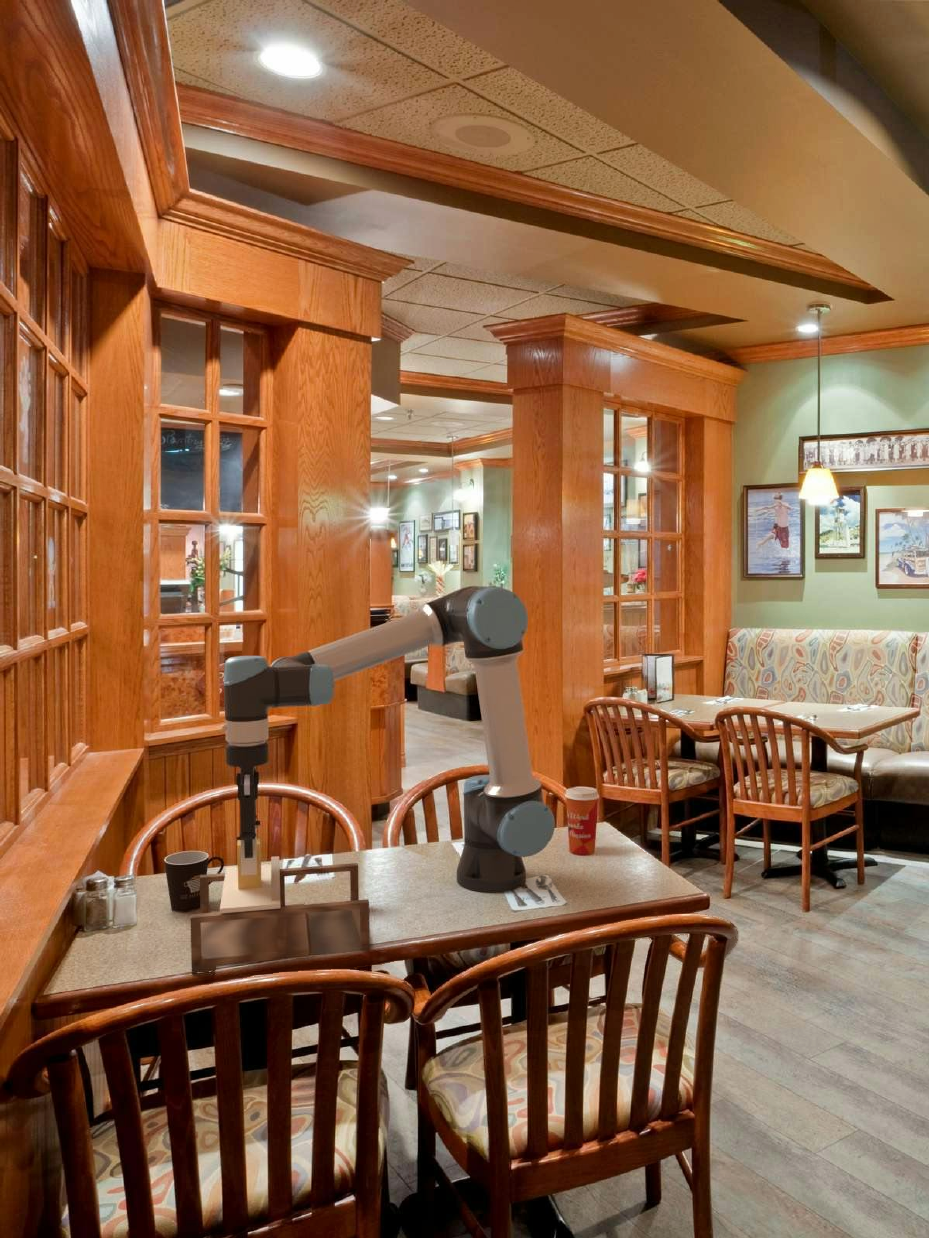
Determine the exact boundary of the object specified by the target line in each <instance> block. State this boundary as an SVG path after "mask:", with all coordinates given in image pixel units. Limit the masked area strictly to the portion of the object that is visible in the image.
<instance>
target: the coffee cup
mask: <svg viewBox="0 0 929 1238" xmlns="http://www.w3.org/2000/svg"><path fill="white" fill-rule="evenodd" d="M564 796H565V800H566V815H567V817H566V818H567V819H566V820H567V831H568V832H567V834H568V835H567V837H568V847H569V848H568V849H569V852H570V854H572V855H575V856H582V857H585V856H591V855H594V854H595V850H596V839H597V837H596V836H597V821H598V819H597V818H598V807H599V806H598V803H599V799H600V794H599V793H598V789H597V788H595V787H589V786H574V787H569V788H567V789H566V793H564Z"/></svg>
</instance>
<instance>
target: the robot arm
mask: <svg viewBox="0 0 929 1238" xmlns="http://www.w3.org/2000/svg"><path fill="white" fill-rule="evenodd" d="M528 625H529V615H528V610H527V608H526V605H525V604H524V602H523V600H522V599H521V598H520V597H519V596H518V595H517V594H516V593H514V592H513V591H511V590H509V589H507V588H503V587H500V586H496V585H493V586H492V585H491V586H490V585H489V586H488V585H487V586H486V585H485V586H479V585H478V586H477V585H474V586H473V585H472V586H471V585H470V586H466V587H462V588H460V589H457V590H454V591H452V592H450V593H448V594H445V595H443V596H441V597H438V598H437V599H434V600H431V601H429V602H425V603H423V604H422V605H421V607H420V610H418V611H415V612H413V613H412V612H411V613H410V614H407V615H404V616H401V617H399V618H396V619H393V620H391V621H388V622H385V623H382V624H379V625H376V626H373V627H371V628H368V629H365V630H362V631H360V632H357V633H355V634H351V635H348V636H346V637H342V638H340V639H338V640H335V641H334V640H333V641H332V642H329V643H326V644H324V645H321V646H318V647H316V648H313V649H310V650H307V651H305V652H301V653H299V654H297V655H293V656H284V657H280V658H278V659H275V660H274V661H273V662H272V663H271V664H270V665H268V663H267V658H266V657H265V656H262V655H237V656H232V657H229V658H227V660H225V663H224V674H223V675H224V677H223V678H224V679H223V680H224V681H223V693H224V694H223V695H224V699H223V700H224V719H225V721H224V723H225V724H222V725H221V729H222V730H223V731H225V741H226V742H227V744H226V745H225V763H226V765H228V766H229V767H234V768H237V767H238V768H240V772H236V778H235V779H236V780H235V781H236V782H235V785H236V786H237V799H238V801H239V804H240V805H239V808H240V813H239V814H240V815H239V818H240V833H239V836H236V841H238V840H241V876H243V875H256V874H257V847H256V838H258V827H259V826H261V820H257V818H258V815H257V799H258V796H259V784H260V771H257V769H256V767H260V766H263V765H266V764H267V763H268V762H269V759H270V757H269V756H270V755H269V743H268V742H267V740H268V739H269V738H270V737H269V736H270V735H269V714H268V712H269V709H271V708H273V709H275V708H291V707H292V708H293V707H305V706H306V707H311V706H312V707H316V706H322V705H328V704H330V703H331V702H332V701H333V700H334V699H333V698H334V695H335V681H338V680H341V679H344V678H347V677H349V676H351V675H355V674H357V673H360V672H362V671H363V672H364V671H366V670H368V669H371V668H374V667H376V666H379V665H382V664H385V663H388V662H389V661H393V660H395V659H397V658H400V657H403V656H406V655H408V654H412V653H414V652H416V651H420V650H422V649H424V648H427V647H430V646H435V647H437V648H441V647H443V646H446V645H451V644H454V643H463V650H464V655H465V660H467V661H468V662H469V663H471V664H472V665H473V666H474V671H475V679H476V686H477V687H476V688H477V694H478V701H479V709H480V714H481V723H482V730H483V731H482V732H483V737H484V744H485V752H486V760H487V764H488V765H487V767H488V773H489V774H483V775H482V774H481V775H473V776H470V777H468V778H467V779H465V781H464V786H463V792H462V796H463V826H464V827H463V831H464V832H463V834H464V846H463V847H462V848H463V849H462V853H461V856H460V858H459V862H458V865H457V867H456V883H457V884H458V885H459V886H461V887H463V888H465V889H467V890H471V891H476V892H483V893H497V892H507V891H511V890H516V889H518V888H520V887H522V886H523V885H525V883H526V882H527V870H526V866H525V864H524V861H523V858H529V857H532V856H535V855H537V854H538V853H540V852H541V851H543V850H544V849H545V848H546V847H547V846H548V844H549V842H551V840H552V838H553V835H554V833H555V828H556V827H555V826H556V822H555V821H556V820H555V817H554V814H553V811H552V810H551V809H550V807H549V806H548V805H547V804H546V803H544V797H543V789H542V782H541V780H540V779H538V778H537V777H535V776H534V775H533V771H532V763H531V756H530V755H531V754H530V748H529V742H528V740H529V739H528V735H527V734H528V732H527V726H526V719H525V709H524V704H523V697H522V687H521V681H520V673H519V666H518V659H519V657H520V656H521V655H522V654H523V652H524V645H523V637H524V635H525V633H526V632H527V630H528V627H529V626H528ZM257 826H258V827H257Z"/></svg>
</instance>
